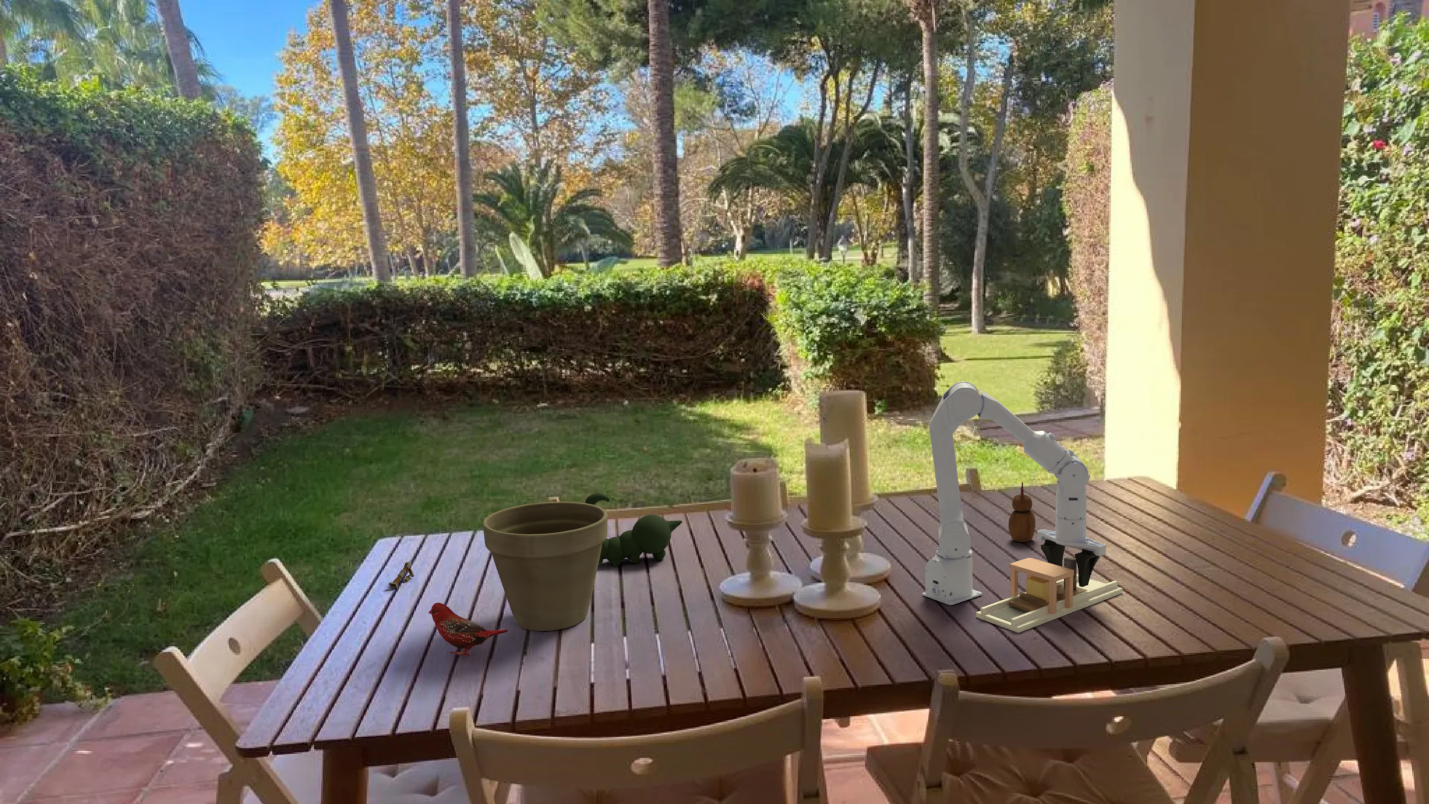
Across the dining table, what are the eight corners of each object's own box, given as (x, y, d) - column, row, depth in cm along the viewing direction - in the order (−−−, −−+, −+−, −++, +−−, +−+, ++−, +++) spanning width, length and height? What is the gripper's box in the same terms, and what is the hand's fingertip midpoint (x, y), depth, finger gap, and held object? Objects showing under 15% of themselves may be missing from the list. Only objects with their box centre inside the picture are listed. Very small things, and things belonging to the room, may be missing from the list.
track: (1019, 633, 171) (1019, 589, 170) (975, 616, 180) (975, 574, 179) (1123, 593, 188) (1123, 553, 187) (1078, 580, 197) (1078, 541, 196)
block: (1043, 603, 180) (1043, 583, 179) (1026, 597, 183) (1026, 578, 182) (1056, 598, 182) (1056, 579, 181) (1039, 593, 185) (1039, 573, 184)
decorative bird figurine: (436, 648, 177) (432, 598, 176) (515, 659, 171) (511, 607, 169) (427, 655, 175) (422, 604, 173) (506, 665, 168) (502, 613, 167)
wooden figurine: (1029, 545, 222) (1029, 484, 219) (1005, 542, 225) (1005, 482, 223) (1038, 538, 227) (1038, 478, 225) (1015, 535, 230) (1015, 476, 228)
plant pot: (638, 608, 193) (632, 507, 190) (555, 652, 173) (547, 540, 170) (551, 589, 207) (544, 495, 204) (465, 628, 187) (455, 524, 184)
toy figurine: (585, 579, 218) (689, 559, 222) (572, 502, 215) (678, 483, 219) (584, 567, 227) (684, 548, 231) (572, 492, 224) (673, 475, 228)
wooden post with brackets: (418, 573, 221) (412, 559, 218) (401, 597, 214) (395, 583, 212) (411, 573, 221) (405, 558, 219) (394, 597, 215) (388, 582, 212)
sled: (1033, 613, 177) (1033, 579, 176) (1009, 605, 182) (1008, 571, 181) (1087, 593, 186) (1087, 561, 185) (1062, 586, 190) (1062, 554, 189)
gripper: (1115, 519, 181) (1114, 586, 183) (1052, 505, 193) (1052, 568, 195) (1093, 526, 177) (1092, 594, 179) (1030, 512, 189) (1030, 575, 191)
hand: (1070, 581), depth 187 cm, fingers open, 6 cm apart
